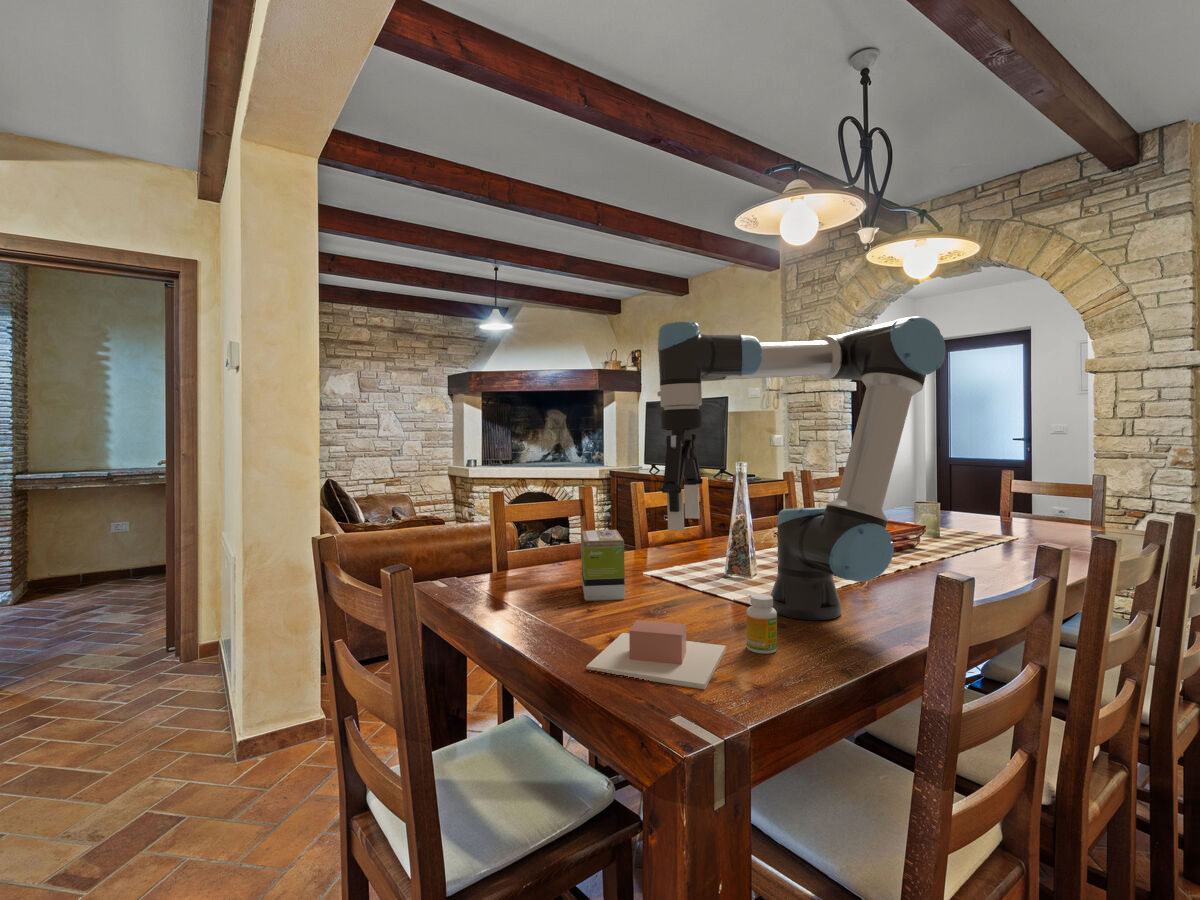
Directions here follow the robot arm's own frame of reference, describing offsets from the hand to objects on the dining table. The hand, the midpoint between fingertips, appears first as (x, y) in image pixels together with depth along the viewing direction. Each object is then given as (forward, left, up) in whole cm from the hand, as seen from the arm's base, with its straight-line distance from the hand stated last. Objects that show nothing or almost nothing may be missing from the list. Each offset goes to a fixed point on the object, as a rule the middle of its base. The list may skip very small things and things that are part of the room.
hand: (684, 524), depth 109 cm
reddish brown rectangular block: (+3, +8, -22) cm, 24 cm away
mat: (+3, +8, -23) cm, 24 cm away
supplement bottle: (-13, -4, -23) cm, 27 cm away
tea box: (+29, -30, -23) cm, 48 cm away
